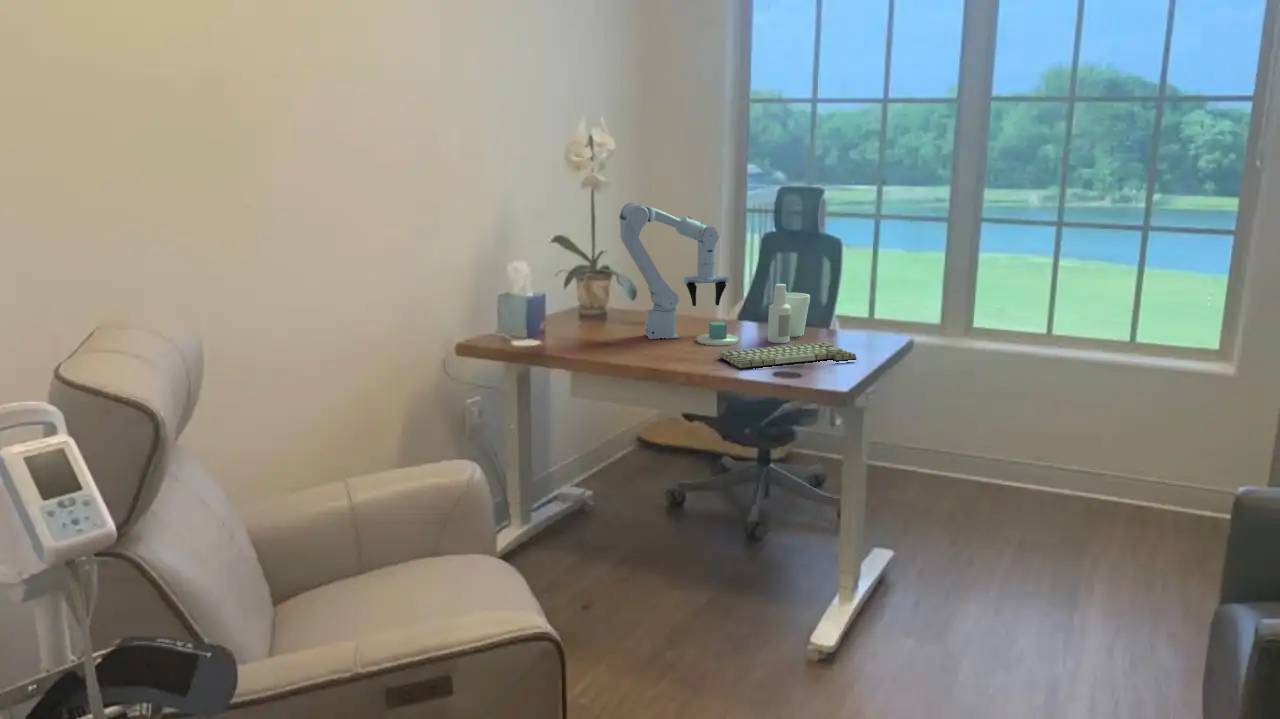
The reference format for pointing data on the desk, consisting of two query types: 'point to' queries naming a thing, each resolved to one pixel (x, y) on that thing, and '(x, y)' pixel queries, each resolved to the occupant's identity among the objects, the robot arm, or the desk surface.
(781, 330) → the spray bottle
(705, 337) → the dish
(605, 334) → the desk surface
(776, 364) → the mechanical keyboard
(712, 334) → the teal block
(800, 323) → the foam cup
